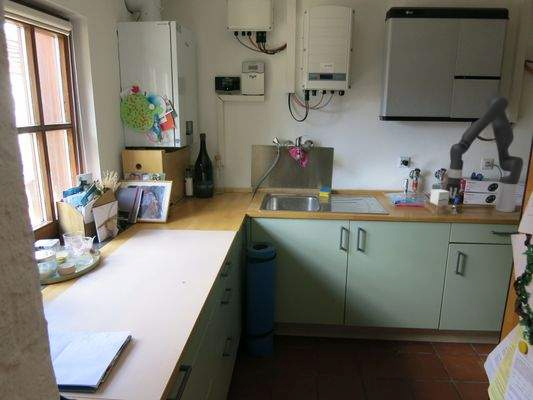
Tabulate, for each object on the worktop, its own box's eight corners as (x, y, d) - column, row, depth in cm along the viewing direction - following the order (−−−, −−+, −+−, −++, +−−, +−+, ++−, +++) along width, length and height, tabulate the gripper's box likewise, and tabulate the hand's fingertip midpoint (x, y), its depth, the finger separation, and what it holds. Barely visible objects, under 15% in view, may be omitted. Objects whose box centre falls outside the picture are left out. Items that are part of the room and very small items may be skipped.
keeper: (444, 207, 240) (445, 199, 238) (458, 214, 226) (459, 205, 224) (423, 207, 238) (424, 199, 237) (436, 214, 224) (437, 206, 223)
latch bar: (442, 201, 240) (443, 197, 239) (446, 201, 240) (446, 197, 239) (453, 208, 225) (453, 203, 225) (457, 208, 225) (458, 203, 225)
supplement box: (436, 212, 228) (439, 192, 224) (428, 209, 235) (430, 189, 231) (446, 212, 230) (449, 191, 226) (438, 208, 236) (441, 188, 233)
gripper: (466, 176, 233) (462, 203, 237) (442, 174, 237) (439, 201, 242) (467, 178, 226) (463, 206, 230) (443, 176, 231) (439, 204, 235)
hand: (451, 203), depth 236 cm, fingers closed
